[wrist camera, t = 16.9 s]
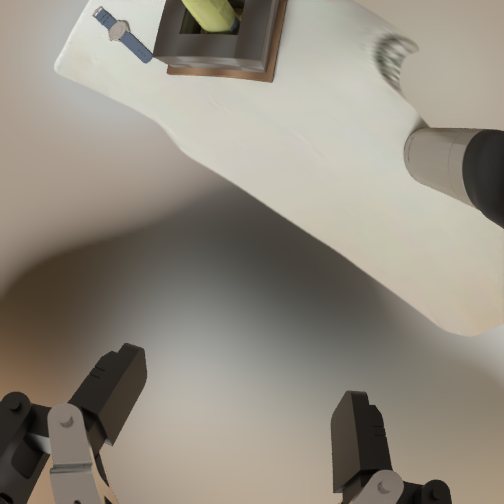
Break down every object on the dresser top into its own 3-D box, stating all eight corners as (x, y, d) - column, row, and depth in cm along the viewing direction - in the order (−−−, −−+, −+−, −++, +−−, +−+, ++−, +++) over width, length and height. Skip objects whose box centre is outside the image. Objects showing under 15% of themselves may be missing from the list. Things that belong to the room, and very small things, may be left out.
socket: (287, -4, 31) (286, -31, 22) (272, 82, 37) (267, 68, 29) (189, -7, 32) (169, -30, 23) (170, 74, 38) (144, 63, 30)
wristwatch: (103, 3, 32) (100, 1, 32) (159, 52, 37) (156, 51, 36) (88, 19, 34) (85, 18, 33) (141, 70, 38) (139, 69, 37)
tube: (198, 31, 33) (137, -26, 15) (221, 8, 31) (175, -60, 13) (226, 49, 33) (177, -9, 16) (250, 25, 32) (218, -45, 14)
